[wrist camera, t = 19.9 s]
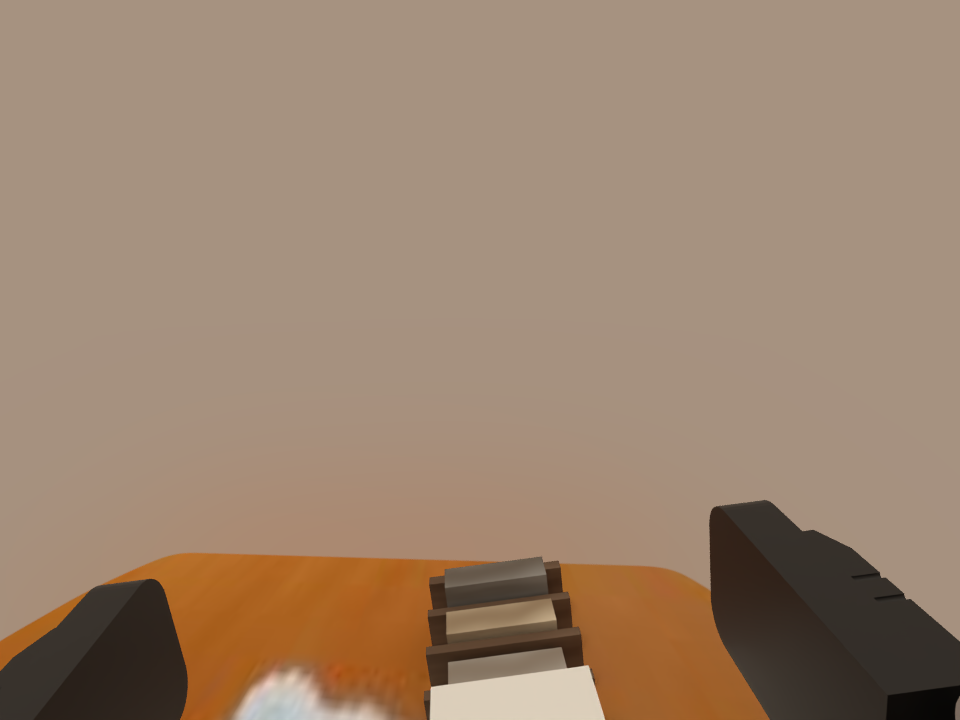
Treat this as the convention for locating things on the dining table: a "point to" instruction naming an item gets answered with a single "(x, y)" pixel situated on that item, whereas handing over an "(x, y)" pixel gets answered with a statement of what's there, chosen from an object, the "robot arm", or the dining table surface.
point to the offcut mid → (500, 621)
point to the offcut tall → (495, 582)
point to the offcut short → (506, 665)
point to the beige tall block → (520, 697)
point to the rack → (498, 646)
